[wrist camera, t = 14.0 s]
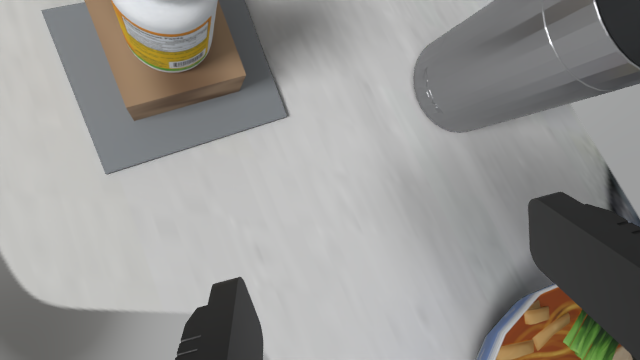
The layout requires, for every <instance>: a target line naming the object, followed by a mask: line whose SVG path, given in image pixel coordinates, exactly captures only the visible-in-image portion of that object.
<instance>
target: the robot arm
mask: <svg viewBox="0 0 640 360" xmlns="http://www.w3.org/2000/svg"><path fill="white" fill-rule="evenodd" d="M636 84H640V0H494V1H493V2H491V3H490V4H488V5H487V6H485V7H484V8H482V9H481V10H479V11H478V12H476V13H475V14H473V15H472V16H470V17H469V18H468V19H466V20H465V21H463V22H462V23H460V24H458V25H457V26H455V27H454V28H453V29H451V30H450V31H448V32H447V33H445V34H444V35H442V36H441V37H439V38H438V39H436V40H435V41H433V42H432V43H431V44H429V45H428V46H427V47H426V48H425V49H424V50H423V51H422V53H421V54H420V56H419V58H418V60H417V63H416V65H415V70H414V89H415V93H416V97H417V100H418V102H419V104H420V106H421V108H422V110H423V111H424V113H425V114H426V115H427V117H428V118H429V119H430V120H431V121H432V122H433V123H435V124H436V125H438V126H439V127H441V128H443V129H445V130H448V131H451V132H459V133H460V132H467V131H471V130H475V129H478V128H482V127H486V126H489V125H493V124H497V123H501V122H504V121H508V120H511V119H515V118H519V117H522V116H526V115H529V114H533V113H537V112H540V111H544V110H547V109H551V108H555V107H558V106H562V105H565V104H569V103H572V102H576V101H579V100H583V99H587V98H590V97H594V96H598V95H601V94H605V93H608V92H612V91H615V90H619V89H622V88H625V87H629V86H633V85H636ZM528 214H529V238H530V251H531V255H532V258H533V260H534V262H535V264H536V265H537V267H538V268H539V269H540V270H541V271H542V272H543V273H544V274H545V275H546V276H547V277H548V278H549V279H550V280H551V281H553V282H554V283H555V284H556V285H557V286H558V287H559V288H560V289H561V290H562V291H563V292H564V293H565V294H567V295H568V296H569V297H570V298H571V299H572V300H573V301H574V302H575V303H576V304H577V305H578V306H579V307H581V308H582V309H583V310H584V311H585V312H586V313H587V314H588V315H589V316H590V317H591V318H592V319H593V320H595V321H596V322H597V323H598V324H599V325H600V326H601V327H602V328H603V329H604V330H605V331H606V332H607V333H609V334H610V335H611V336H612V337H613V338H614V339H615V340H616V341H617V342H618V343H619V344H620V345H621V346H623V347H624V348H625V349H626V350H627V351H628V352H629V353H630V354H631V355H632V356H633V357H634V358H635V359H637V360H640V227H638V226H636V225H634V224H633V223H628V221H627V220H626V219H624V218H622V217H620V216H618V215H617V214H615V213H613V212H611V211H609V210H606V209H602V208H599V207H595V206H592V205H588V204H585V205H584V204H582V203H580V202H579V201H577V200H575V199H573V198H572V197H570V196H568V195H567V194H565V193H563V192H557V193H553V194H550V195H546V196H542V197H539V198H535V199H532V200H531V201H530V202H529V206H528ZM175 360H263V335H262V329H261V325H260V322H259V319H258V316H257V314H256V311H255V308H254V306H253V303H252V300H251V298H250V295H249V293H248V290H247V287H246V285H245V282H244V280H243V279H242V278H241V277H238V278H234V279H230V280H226V281H223V282H219V283H215V284H213V286H212V289H211V293H210V297H209V301H208V305H206V306H203V307H199V308H197V309H196V310H195V312H194V313H193V314H192V316H191V317H190V318H189V320H188V321H187V323H186V324H185V327H184V331H183V334H182V338H181V343H180V344H179V348H178V351H177V357H176V358H175Z"/></svg>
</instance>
